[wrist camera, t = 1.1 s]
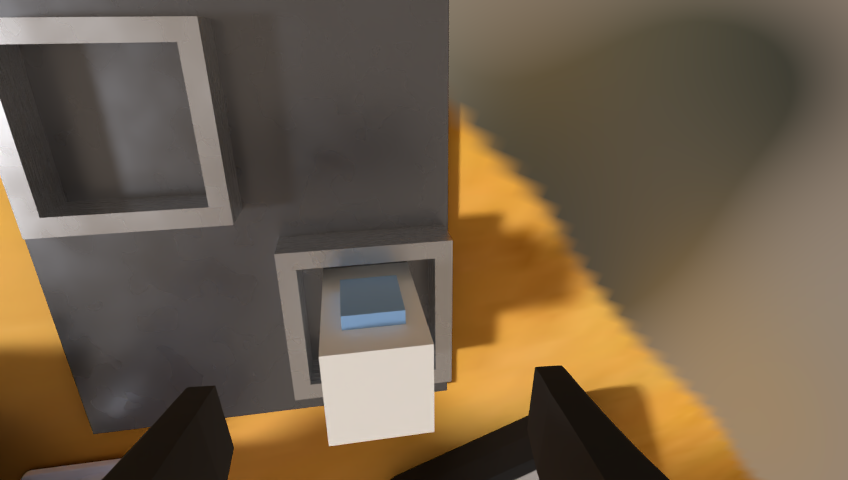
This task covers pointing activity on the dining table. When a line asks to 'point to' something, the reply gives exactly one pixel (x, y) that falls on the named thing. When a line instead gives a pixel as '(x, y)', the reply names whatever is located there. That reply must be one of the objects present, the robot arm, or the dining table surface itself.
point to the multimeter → (483, 458)
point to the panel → (221, 184)
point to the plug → (374, 355)
